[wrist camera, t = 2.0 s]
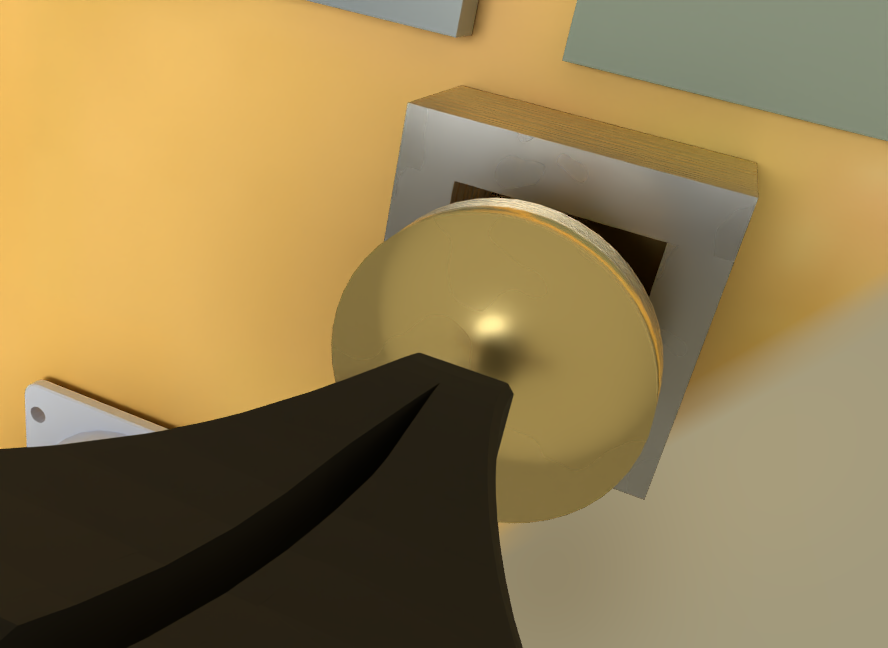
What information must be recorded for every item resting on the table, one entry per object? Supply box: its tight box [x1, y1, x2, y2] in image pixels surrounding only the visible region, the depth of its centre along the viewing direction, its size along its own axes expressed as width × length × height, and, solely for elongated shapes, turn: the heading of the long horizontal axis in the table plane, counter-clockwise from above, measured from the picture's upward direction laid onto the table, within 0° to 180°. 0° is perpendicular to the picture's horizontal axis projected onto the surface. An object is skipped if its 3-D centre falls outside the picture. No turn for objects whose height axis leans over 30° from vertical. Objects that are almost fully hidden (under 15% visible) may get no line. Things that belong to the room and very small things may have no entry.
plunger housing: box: [384, 85, 758, 499], centre depth 16 cm, size 6×6×3 cm
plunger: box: [331, 198, 663, 523], centre depth 14 cm, size 5×5×4 cm
